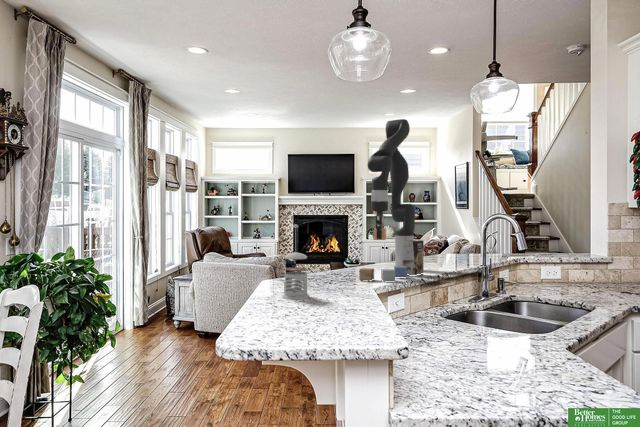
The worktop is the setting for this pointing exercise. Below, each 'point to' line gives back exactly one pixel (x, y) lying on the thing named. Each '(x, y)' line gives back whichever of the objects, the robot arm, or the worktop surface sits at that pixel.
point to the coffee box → (413, 256)
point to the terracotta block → (382, 234)
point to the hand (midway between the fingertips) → (379, 238)
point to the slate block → (388, 274)
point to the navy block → (400, 271)
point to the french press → (295, 277)
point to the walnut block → (366, 274)
